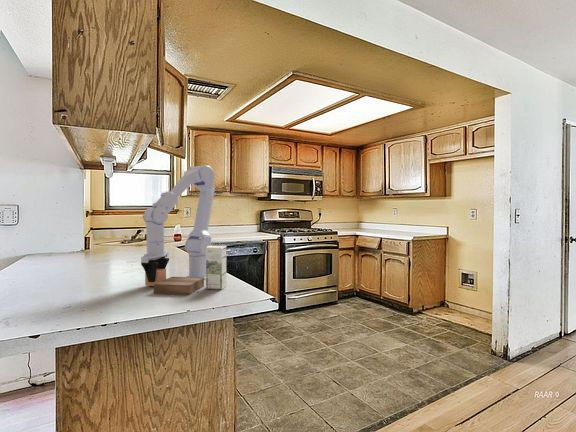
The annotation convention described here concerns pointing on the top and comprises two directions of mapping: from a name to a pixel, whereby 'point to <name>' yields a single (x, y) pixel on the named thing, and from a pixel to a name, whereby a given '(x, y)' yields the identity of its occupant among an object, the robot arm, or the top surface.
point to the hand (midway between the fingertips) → (155, 280)
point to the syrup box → (216, 267)
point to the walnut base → (179, 285)
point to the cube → (159, 277)
